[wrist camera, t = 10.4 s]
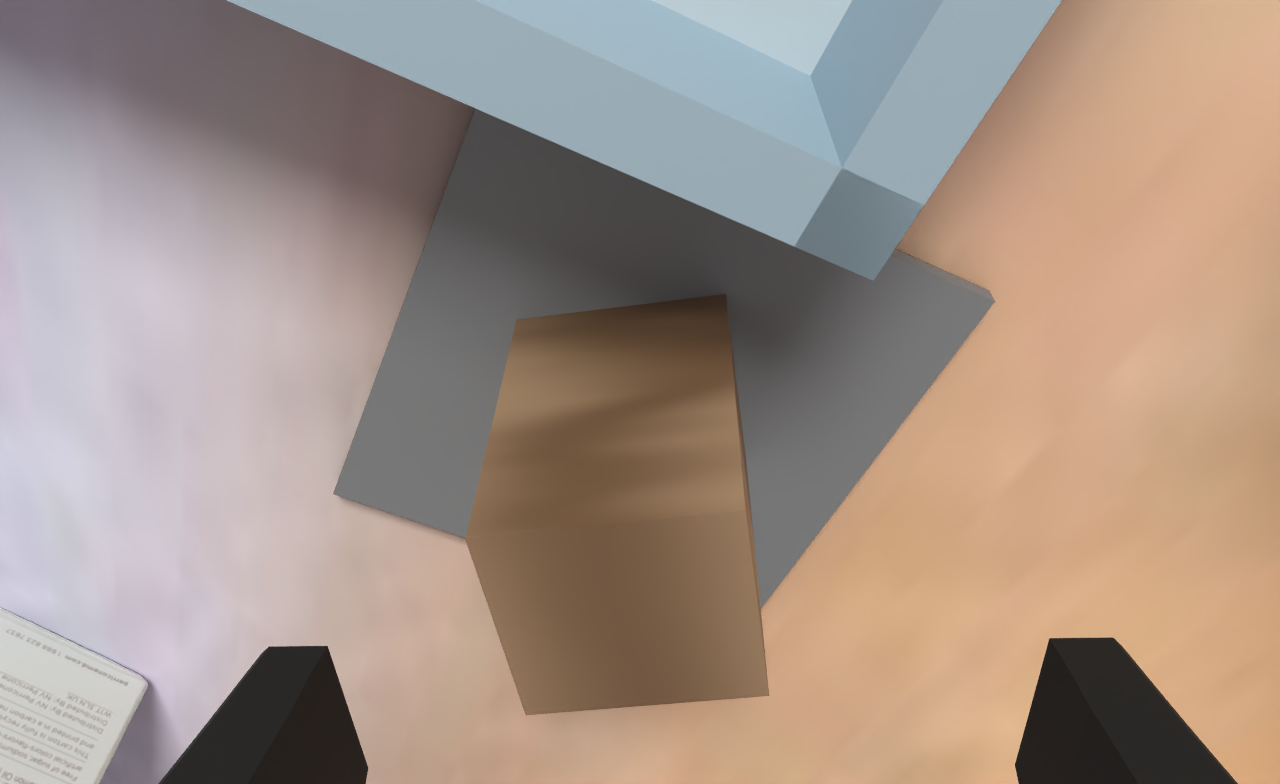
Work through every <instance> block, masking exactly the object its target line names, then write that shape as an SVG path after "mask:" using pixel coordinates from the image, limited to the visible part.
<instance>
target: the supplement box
mask: <svg viewBox="0 0 1280 784" xmlns="http://www.w3.org/2000/svg"><path fill="white" fill-rule="evenodd" d="M147 688H148V682H147V681H146V680H145V679H144V678H143V677H142V676H141V675H139V674H137V673H135V672H133V671H131V670H129V669H127V668H125V667H123V666H121V665H119V664H117V663H115V662H113V661H111V660H109V659H107V658H105V657H103V656H101V655H99V654H97V653H95V652H93V651H90V650H88V649H86V648H84V647H81V646H79V645H77V644H75V643H74V642H71V641H69V640H67V639H65V638H63V637H61V636H59V635H57V634H55V633H52V632H50V631H48V630H46V629H44V628H42V627H40V626H38V625H36V624H34V623H32V622H30V621H27V620H25V619H23V618H21V617H19V616H17V615H15V614H13V613H11V612H9V611H7V610H5V609H2V608H0V784H100V782H101V780H102V778H103V776H104V774H105V772H106V770H107V768H108V766H109V764H110V762H111V760H112V758H113V756H114V754H115V752H116V750H117V748H118V746H119V744H120V742H121V740H122V737H123V735H124V733H125V731H126V729H127V727H128V725H129V723H130V721H131V719H132V717H133V715H134V713H135V711H136V709H137V707H138V705H139V704H140V702H141V700H142V698H143V696H144V694H145V692H146V690H147Z"/></svg>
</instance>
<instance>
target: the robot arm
mask: <svg viewBox="0 0 1280 784" xmlns="http://www.w3.org/2000/svg"><path fill="white" fill-rule="evenodd" d="M1015 767H1016V772H1017V777H1018V782H1019V784H1238V783H1237V782H1236V781H1235V780H1234V779H1233V777H1232V776H1231V775H1230V774H1229V773H1228V772H1227V771H1226V769H1225V768H1224V767H1223V766H1222V765H1221V764H1220V762H1219V761H1218V760H1217V759H1216V758H1215V757H1214V755H1213V754H1212V753H1211V752H1210V751H1209V750H1208V748H1207V747H1206V746H1205V745H1204V744H1203V743H1202V741H1201V740H1200V739H1199V738H1198V737H1197V736H1196V734H1195V733H1194V732H1193V731H1192V730H1191V729H1190V727H1189V726H1188V725H1187V724H1186V723H1185V721H1184V720H1183V719H1182V718H1181V717H1180V715H1179V714H1178V713H1177V712H1176V711H1175V709H1174V708H1173V707H1172V706H1171V705H1170V704H1169V702H1168V701H1167V700H1166V699H1165V697H1164V696H1163V695H1162V694H1161V693H1160V691H1159V690H1158V689H1157V688H1156V687H1155V685H1154V684H1153V683H1152V682H1151V681H1150V679H1149V678H1148V677H1147V676H1146V675H1145V673H1144V672H1143V671H1142V670H1141V669H1140V667H1139V666H1138V665H1137V664H1136V662H1135V661H1134V660H1133V659H1132V658H1131V656H1130V655H1129V654H1128V653H1127V652H1126V650H1125V649H1124V648H1123V647H1122V646H1121V645H1120V644H1119V643H1118V642H1117V641H1116V640H1115V639H1114V638H1050V639H1049V642H1048V646H1047V650H1046V653H1045V657H1044V661H1043V664H1042V668H1041V672H1040V675H1039V679H1038V683H1037V686H1036V690H1035V694H1034V697H1033V701H1032V705H1031V708H1030V712H1029V716H1028V719H1027V723H1026V727H1025V730H1024V734H1023V738H1022V741H1021V745H1020V749H1019V752H1018V756H1017V760H1016V763H1015ZM367 772H368V766H367V763H366V760H365V757H364V754H363V751H362V748H361V745H360V742H359V739H358V736H357V733H356V730H355V727H354V724H353V721H352V718H351V715H350V712H349V709H348V706H347V703H346V700H345V697H344V694H343V691H342V688H341V685H340V682H339V679H338V676H337V673H336V670H335V667H334V664H333V661H332V658H331V655H330V652H329V649H328V646H290V647H268V648H267V649H266V650H265V651H264V652H263V653H262V654H261V655H260V656H259V658H258V659H257V660H256V661H255V663H254V664H253V665H252V666H251V668H250V669H249V670H248V671H247V673H246V674H245V675H244V677H243V678H242V679H241V680H240V682H239V683H238V684H237V686H236V687H235V688H234V689H233V691H232V692H231V693H230V695H229V696H228V697H227V698H226V700H225V701H224V702H223V703H222V705H221V706H220V707H219V709H218V710H217V711H216V712H215V714H214V715H213V716H212V718H211V719H210V720H209V721H208V723H207V724H206V725H205V726H204V728H203V729H202V730H201V731H200V733H199V734H198V735H197V737H196V738H195V739H194V740H193V742H192V743H191V744H190V745H189V747H188V748H187V749H186V750H185V752H184V753H183V754H182V755H181V757H180V758H179V759H178V760H177V762H176V763H175V764H174V765H173V767H172V768H171V769H170V770H169V772H168V773H167V774H166V775H165V776H164V778H163V779H162V780H161V781H160V782H159V784H366V778H367Z"/></svg>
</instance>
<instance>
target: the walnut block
mask: <svg viewBox="0 0 1280 784" xmlns="http://www.w3.org/2000/svg"><path fill="white" fill-rule="evenodd" d="M465 539H466V542H467V545H468V548H469V551H470V554H471V557H472V560H473V563H474V565H475V568H476V571H477V574H478V577H479V580H480V583H481V586H482V589H483V592H484V595H485V597H486V600H487V603H488V606H489V609H490V612H491V615H492V618H493V621H494V624H495V627H496V629H497V632H498V635H499V638H500V641H501V644H502V647H503V650H504V653H505V656H506V659H507V662H508V664H509V667H510V670H511V673H512V676H513V679H514V682H515V685H516V688H517V691H518V694H519V696H520V699H521V702H522V705H523V708H524V711H525V714H526V715H533V714H546V713H558V712H571V711H583V710H596V709H609V708H621V707H634V706H646V705H659V704H671V703H684V702H697V701H709V700H722V699H734V698H747V697H759V696H769V691H768V680H767V670H766V660H765V649H764V639H763V629H762V618H761V608H760V598H759V587H758V577H757V567H756V557H755V546H754V536H753V526H752V515H751V505H750V495H749V484H748V474H747V464H746V455H745V447H744V438H743V430H742V422H741V414H740V405H739V397H738V389H737V381H736V373H735V364H734V356H733V348H732V340H731V331H730V323H729V315H728V307H727V299H726V294H722V295H714V296H705V297H697V298H689V299H681V300H673V301H664V302H656V303H648V304H640V305H632V306H623V307H615V308H607V309H599V310H591V311H582V312H574V313H566V314H558V315H550V316H541V317H533V318H525V319H517V320H516V324H515V328H514V332H513V336H512V341H511V345H510V349H509V354H508V358H507V362H506V366H505V371H504V375H503V379H502V384H501V388H500V392H499V396H498V401H497V405H496V409H495V413H494V418H493V422H492V426H491V431H490V435H489V439H488V443H487V448H486V452H485V456H484V461H483V465H482V469H481V473H480V478H479V482H478V486H477V491H476V495H475V499H474V503H473V508H472V512H471V516H470V521H469V525H468V529H467V533H466V538H465Z"/></svg>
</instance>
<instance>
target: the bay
mask: <svg viewBox="0 0 1280 784" xmlns="http://www.w3.org/2000/svg"><path fill="white" fill-rule="evenodd" d="M227 1H229V2H231V3H234V4H236V5H238V6H240V7H243V8H245V9H247V10H250V11H252V12H254V13H257V14H259V15H261V16H264V17H266V18H268V19H270V20H273V21H275V22H277V23H280V24H282V25H284V26H287V27H289V28H291V29H293V30H296V31H298V32H300V33H303V34H305V35H307V36H310V37H312V38H314V39H317V40H319V41H321V42H323V43H326V44H328V45H330V46H333V47H335V48H337V49H340V50H342V51H344V52H347V53H349V54H351V55H353V56H356V57H358V58H360V59H363V60H365V61H367V62H370V63H372V64H374V65H377V66H379V67H381V68H383V69H386V70H388V71H390V72H393V73H395V74H397V75H400V76H402V77H404V78H407V79H409V80H411V81H413V82H416V83H418V84H420V85H423V86H425V87H427V88H430V89H432V90H434V91H437V92H439V93H441V94H443V95H446V96H448V97H450V98H453V99H455V100H457V101H460V102H462V103H464V104H467V105H469V106H471V107H473V108H476V109H478V110H480V111H483V112H485V113H487V114H490V115H492V116H494V117H497V118H499V119H501V120H503V121H506V122H508V123H510V124H513V125H515V126H517V127H520V128H522V129H524V130H527V131H529V132H531V133H533V134H536V135H538V136H540V137H543V138H545V139H547V140H550V141H552V142H554V143H557V144H559V145H561V146H563V147H566V148H568V149H570V150H573V151H575V152H577V153H580V154H582V155H584V156H587V157H589V158H591V159H593V160H596V161H598V162H600V163H603V164H605V165H607V166H610V167H612V168H614V169H617V170H619V171H621V172H623V173H626V174H628V175H630V176H633V177H635V178H637V179H640V180H642V181H644V182H647V183H649V184H651V185H653V186H656V187H658V188H660V189H663V190H665V191H667V192H670V193H672V194H674V195H677V196H679V197H681V198H683V199H686V200H688V201H690V202H693V203H695V204H697V205H700V206H702V207H704V208H707V209H709V210H711V211H713V212H716V213H718V214H720V215H723V216H725V217H727V218H730V219H732V220H734V221H737V222H739V223H741V224H743V225H746V226H748V227H750V228H753V229H755V230H757V231H760V232H762V233H764V234H767V235H769V236H771V237H773V238H776V239H778V240H780V241H783V242H785V243H787V244H790V245H792V246H794V247H797V248H799V249H801V250H803V251H806V252H808V253H810V254H813V255H815V256H817V257H820V258H822V259H824V260H827V261H829V262H831V263H833V264H836V265H838V266H840V267H843V268H845V269H847V270H850V271H852V272H854V273H856V274H859V275H861V276H863V277H866V278H868V279H870V280H873V281H874V279H875V278H876V276H877V275H878V273H879V272H880V270H881V269H882V267H883V266H884V264H885V263H886V261H887V260H888V258H889V257H890V255H891V254H892V252H893V251H894V249H895V248H896V246H897V245H898V243H899V242H900V241H901V239H902V238H903V236H904V235H905V233H906V232H907V230H908V229H909V227H910V226H911V224H912V223H913V221H914V220H915V218H916V217H917V215H918V214H919V212H920V211H921V209H922V208H923V206H924V205H925V203H926V202H927V200H928V199H929V197H930V196H931V194H932V193H933V191H934V190H935V188H936V187H937V185H938V184H939V182H940V181H941V179H942V178H943V176H944V175H945V174H946V172H947V171H948V169H949V168H950V166H951V165H952V163H953V162H954V160H955V159H956V157H957V156H958V154H959V153H960V151H961V150H962V148H963V147H964V145H965V144H966V142H967V141H968V139H969V138H970V136H971V135H972V133H973V132H974V130H975V129H976V127H977V126H978V124H979V123H980V121H981V120H982V118H983V117H984V115H985V114H986V112H987V111H988V109H989V108H990V107H991V105H992V104H993V102H994V101H995V99H996V98H997V96H998V95H999V93H1000V92H1001V90H1002V89H1003V87H1004V86H1005V84H1006V83H1007V81H1008V80H1009V78H1010V77H1011V75H1012V74H1013V72H1014V71H1015V69H1016V68H1017V66H1018V65H1019V63H1020V62H1021V60H1022V59H1023V57H1024V56H1025V54H1026V53H1027V51H1028V50H1029V48H1030V47H1031V45H1032V44H1033V42H1034V41H1035V40H1036V38H1037V37H1038V35H1039V34H1040V32H1041V31H1042V29H1043V28H1044V26H1045V25H1046V23H1047V22H1048V20H1049V19H1050V17H1051V16H1052V14H1053V13H1054V11H1055V10H1056V8H1057V7H1058V5H1059V4H1060V2H1061V1H1062V0H227Z"/></svg>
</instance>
